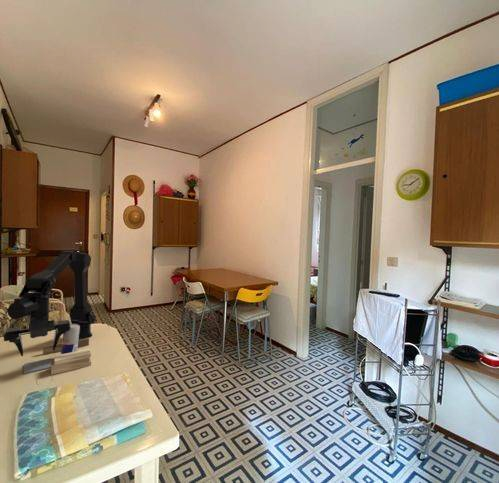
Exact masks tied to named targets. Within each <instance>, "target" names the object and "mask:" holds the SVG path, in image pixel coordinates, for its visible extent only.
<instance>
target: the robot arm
mask: <svg viewBox="0 0 499 483" xmlns="http://www.w3.org/2000/svg"><path fill="white" fill-rule="evenodd" d="M91 261H92V257H91V255H90V254H89V253H85V252H76V251H73V250H63V251H61V252H60V253H59V255H58V256H57V257H56V258H55V259H54V260H53V261H52V262H51V263H50V264H49V265H48V266H47V267H46V268H45V269H44V270H42V271H39V272H36V273H34V274H33V275H32V276H30V277H28V279H26V281H25V283H24V285H23V287H22V288H21V291H20V293H19V295H18V297H16V298H14V299H13V303H11V304H9V306H8V308H7V315H8V317H9V318H11V319H13V320H15V321H17V320H21V319H23V318H26V317H28V328H23V329H22V328H21V327H20V326H15V327H8V328H6V329H5V330H4V333H3V342H8V343H12V344H15V346H16V347H17V350H18V352H19V354H20V356H21V357H24V347H23V339H22V335H25V336H26V335H29V338H31V339H35V338H39V337H47V336H48V334H49V332H53V331H54V336H53V342H52V345H53V350H55V347H56V345H57V344H58V342H59V339H60V338H61V336H63V334H65V333H66V331H70V324H78V325H79V327H80V330H79V339H85V338H90V337H92V336H93V332H92V330H91V329H92V328H91V325H92V324H95V322H96V320H97V316H96V314H95V313H94V312H93V310H92V306H91V304H90V303H89V301H88V282H87V279H88V278H87V272H88V269H89V268H90V267H91ZM67 267H69V269H70V270H71V271H72V272H73V284H74V285H73V287H74V288H73V291H74V293H73V294H74V304H73V306H72V307H70V308H69V319H70V320H59V321H55V319H52V320H49V318H50V297H53V296H54V294H53V293H52V292H51V291H52V290H53V288H54V286H55V285H56V280H57V278H58V277H59V276H60V275H61V273H62V272H64V270H65V269H66V268H67ZM55 322H56V323H55ZM70 322H71V323H70ZM20 328H21V329H20Z"/></svg>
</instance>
